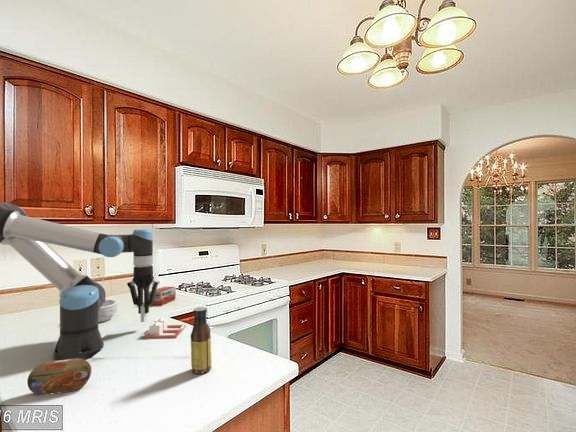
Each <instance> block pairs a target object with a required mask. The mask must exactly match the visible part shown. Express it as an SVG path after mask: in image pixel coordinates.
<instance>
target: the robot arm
mask: <svg viewBox="0 0 576 432" xmlns="http://www.w3.org/2000/svg"><path fill="white" fill-rule="evenodd" d="M153 242H154V240H153V230H151V229H144V228H143V229H142V228H141V229H133V232H132V233H131V234H107V233H100V232H96V231H92V230H87V229H83V228H79V227H76V226H75V227H74V226H70V225H65V224H61V223H58V222H52V221H49V220H44V219H39V218H36V217H35V218H34V217H31V216H28V215H27V213H26V212H25V210H24V209H23V208H21V207H20V206H18V205H16V204H13V203H10V202H0V244H1V245H2V246H3V245H5V246H10V247H11V248H12V249H14V250H15V252H17V253H18V254H19V255H20V256H21V257H22V258H23V259H24V260H26V262H28V263H29V264H30V265H31V266H32V267H33V268H34V269H35V270H37V271H38V272H39V273H40V274H41V275H42V276H43V277H44V278H45V279H46V280H48V281H49V282H50V283H51V284H52V285H53V286H54V287H55V288H56V289H57V290H58V292H59V301H58V302H59V337H58V339H57V342H56V345H55V347H54V350H53V357H52V358H53V361H59V360H67V359H75V358H81V359H84V360H88V359H91V358H93V357H95V356H96V355H97V354H98V353H99V352H101V351H102V349H103V348H104V345H105V344H104V340H103V337H102V335H101V332H100V330H99V322H98V311H99V309H100V307H101V306H102V305H103V304H104V301H105V300H106V289H105V288H104V287H103V285H102V284H100V283H98V282H97V281H94V280H92V278H90V277H89V276H88V275H87V274H81V273H79V272H78V271H77V270H76V269H75V268H74V267H72V265H70V263H68V262H67V260H65V259H64V258H63V257H62V256H61V255H60V254H59V253H58V252H57V251H55V249H54V248H53V247H52V246H50V245H54V246H60V247H62V248H63V247H65V248H69V249H74V250H79V251H84V252H90V253H95V254H98V255H102V256H104V257H107V258H115V257H117V256H119V255H120V254H122V253H125V254H126V253H133V277H132V280H131V281H129V282H127V283H126V285H127V286H128V288H129V291H130V294H131V300H132V302H133V305H134V306H138V307H137V308H138V311H137V313H138V314H140V323H145V322H147V320H148V313H150V306H151V305H150V304H152V303H153V302H154V298H155V293H156V289H158V285H159V284H160V283H161V282H160V281H159V280H158V281H157V280H155V276H153V275H154V266H153V265H154V264H153V263H154V260H153V259H154V257H153V256H154V254H153V250H154V249H153V247H154V246H153V244H154V243H153ZM49 244H50V245H49ZM151 285H152V287H151ZM150 287H151V294H150V299H149V292H150Z"/></svg>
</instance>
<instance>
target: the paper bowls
mask: <svg viewBox="0 0 576 432" xmlns="http://www.w3.org/2000/svg"><path fill="white" fill-rule="evenodd" d="M118 305H119V304H118V301H117V300H115V299H105V301H104V304H103V305H102V306H101V307H100V309H99V311H98V323H103V322H106V321H109V320H112V318H113V316H114V315H116V313H118V307H119V306H118Z"/></svg>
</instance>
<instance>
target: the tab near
mask: <svg viewBox="0 0 576 432" xmlns="http://www.w3.org/2000/svg"><path fill="white" fill-rule="evenodd" d="M148 329H149V330H148V331H149V335H164V333H163V322H159V321H156V322H152V323H150V324H149V328H148Z"/></svg>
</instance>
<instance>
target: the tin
mask: <svg viewBox="0 0 576 432" xmlns="http://www.w3.org/2000/svg"><path fill="white" fill-rule="evenodd" d="M92 373H93V371H92V365H91V364H90V362H89V361H88V360H87V359H81V358H75V359H67V360H59V361H55V360H51V361H50V360H49V361H46V362H42V363H41V364H39V365H38V366H35V367H34V368H33V369H32V371H31V372H30V373H29V375H28V377H27V380H26V381H27V386H28V387H27V388H28V389H29V390H30V392H31V393H33V394H34V395H38V396H45V395H46V396H47V394H48V395H52V394H51V393H55V394H59V393H58V392H62V393H67V392H66V391H70V392H74V391H73V390H76V391H78V390H81V389H82V388H83V387H84V386H85V385H86V384H87V383H88V381H89V380H90V379H91V375H92Z"/></svg>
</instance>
